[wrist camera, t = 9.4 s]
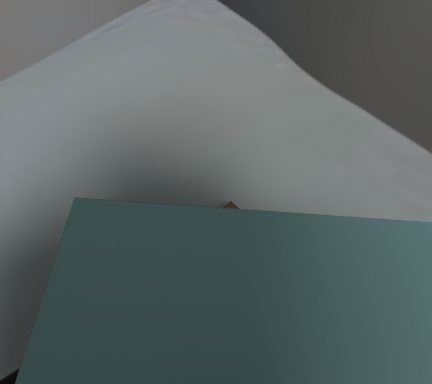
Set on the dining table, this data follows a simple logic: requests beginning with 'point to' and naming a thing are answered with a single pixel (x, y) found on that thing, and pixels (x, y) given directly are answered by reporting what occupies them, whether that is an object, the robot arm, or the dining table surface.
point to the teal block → (233, 298)
